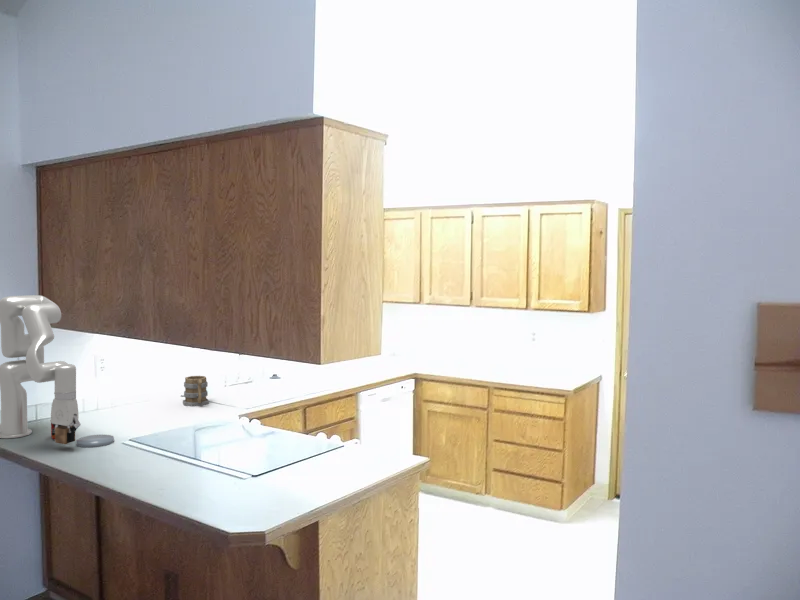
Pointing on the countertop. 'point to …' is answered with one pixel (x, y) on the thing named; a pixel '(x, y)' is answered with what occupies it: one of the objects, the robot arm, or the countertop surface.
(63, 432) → the walnut block
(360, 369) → the countertop surface
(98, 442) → the dish
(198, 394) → the tankard
